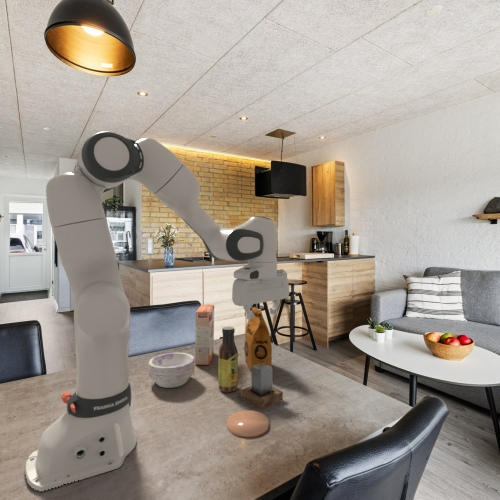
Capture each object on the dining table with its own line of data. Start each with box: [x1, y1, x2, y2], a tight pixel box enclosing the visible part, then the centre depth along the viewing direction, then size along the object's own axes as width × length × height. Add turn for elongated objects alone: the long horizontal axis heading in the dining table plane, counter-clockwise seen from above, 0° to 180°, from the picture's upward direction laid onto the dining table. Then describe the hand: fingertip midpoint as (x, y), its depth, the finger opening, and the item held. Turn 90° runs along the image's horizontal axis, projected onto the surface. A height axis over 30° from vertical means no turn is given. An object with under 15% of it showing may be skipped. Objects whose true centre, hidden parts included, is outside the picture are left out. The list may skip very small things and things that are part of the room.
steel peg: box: [250, 363, 273, 397], centre depth 101 cm, size 4×4×10 cm
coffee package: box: [243, 306, 273, 371], centre depth 125 cm, size 10×12×22 cm
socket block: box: [240, 385, 284, 411], centre depth 101 cm, size 9×9×2 cm
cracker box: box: [194, 304, 215, 366], centre depth 133 cm, size 14×6×21 cm, turn 179°
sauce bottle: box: [217, 326, 239, 393], centre depth 107 cm, size 6×6×20 cm
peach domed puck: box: [226, 410, 270, 438], centre depth 87 cm, size 11×11×1 cm
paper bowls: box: [148, 352, 196, 389], centre depth 112 cm, size 15×15×8 cm
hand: (262, 316), depth 100 cm, fingers open, 8 cm apart
